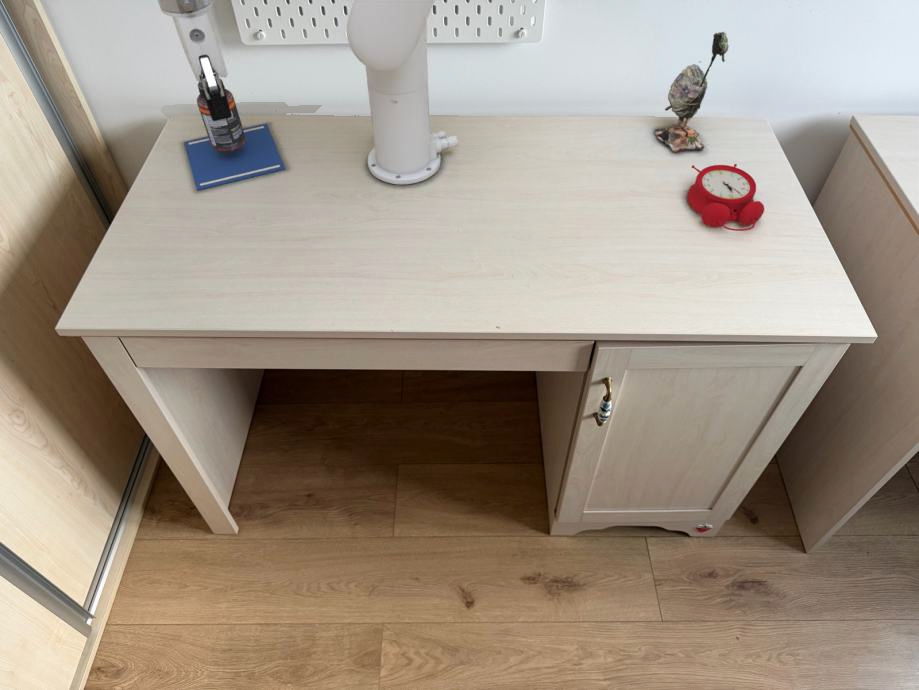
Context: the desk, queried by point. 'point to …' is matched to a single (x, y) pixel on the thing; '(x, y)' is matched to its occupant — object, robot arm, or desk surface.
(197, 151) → the napkin
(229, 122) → the supplement bottle
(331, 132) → the desk surface
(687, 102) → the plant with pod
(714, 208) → the alarm clock
